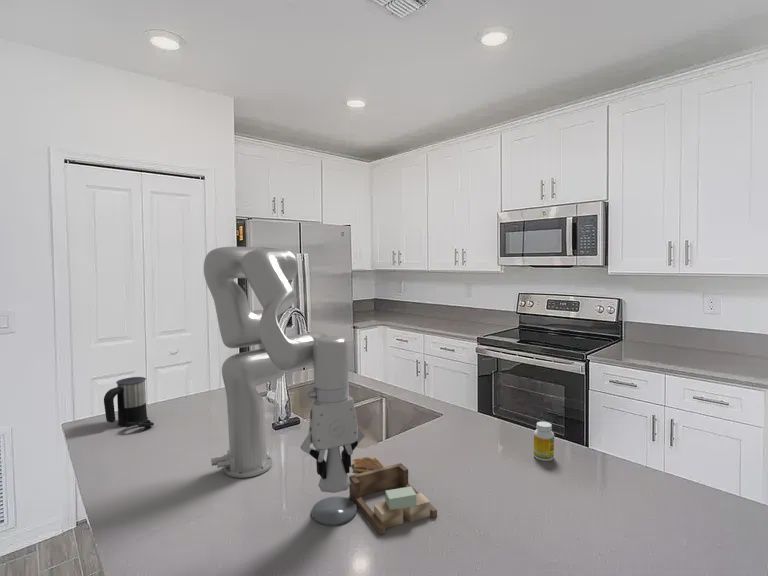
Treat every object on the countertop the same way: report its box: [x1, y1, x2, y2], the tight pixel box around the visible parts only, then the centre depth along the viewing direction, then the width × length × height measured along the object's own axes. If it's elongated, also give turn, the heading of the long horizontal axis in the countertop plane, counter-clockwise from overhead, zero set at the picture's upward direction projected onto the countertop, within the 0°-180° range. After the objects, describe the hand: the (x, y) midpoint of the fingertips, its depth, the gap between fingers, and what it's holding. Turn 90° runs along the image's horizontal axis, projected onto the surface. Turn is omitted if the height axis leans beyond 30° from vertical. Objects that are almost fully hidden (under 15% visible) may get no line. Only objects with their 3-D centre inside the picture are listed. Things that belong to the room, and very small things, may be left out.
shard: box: [351, 456, 384, 473], centre depth 119 cm, size 11×8×2 cm
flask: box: [318, 446, 351, 494], centre depth 100 cm, size 7×7×10 cm
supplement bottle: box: [533, 421, 555, 462], centre depth 126 cm, size 5×5×10 cm
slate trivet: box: [311, 496, 358, 527], centre depth 101 cm, size 10×10×1 cm
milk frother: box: [103, 376, 155, 429], centre depth 154 cm, size 14×16×15 cm
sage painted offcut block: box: [384, 486, 417, 510], centre depth 98 cm, size 6×4×2 cm, turn 105°
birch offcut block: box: [403, 492, 431, 523], centre depth 99 cm, size 5×4×4 cm
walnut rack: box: [348, 462, 438, 536], centre depth 103 cm, size 14×17×5 cm
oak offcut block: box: [373, 501, 404, 530], centre depth 97 cm, size 5×4×4 cm
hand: (334, 472), depth 100 cm, fingers closed on flask, 4 cm apart
